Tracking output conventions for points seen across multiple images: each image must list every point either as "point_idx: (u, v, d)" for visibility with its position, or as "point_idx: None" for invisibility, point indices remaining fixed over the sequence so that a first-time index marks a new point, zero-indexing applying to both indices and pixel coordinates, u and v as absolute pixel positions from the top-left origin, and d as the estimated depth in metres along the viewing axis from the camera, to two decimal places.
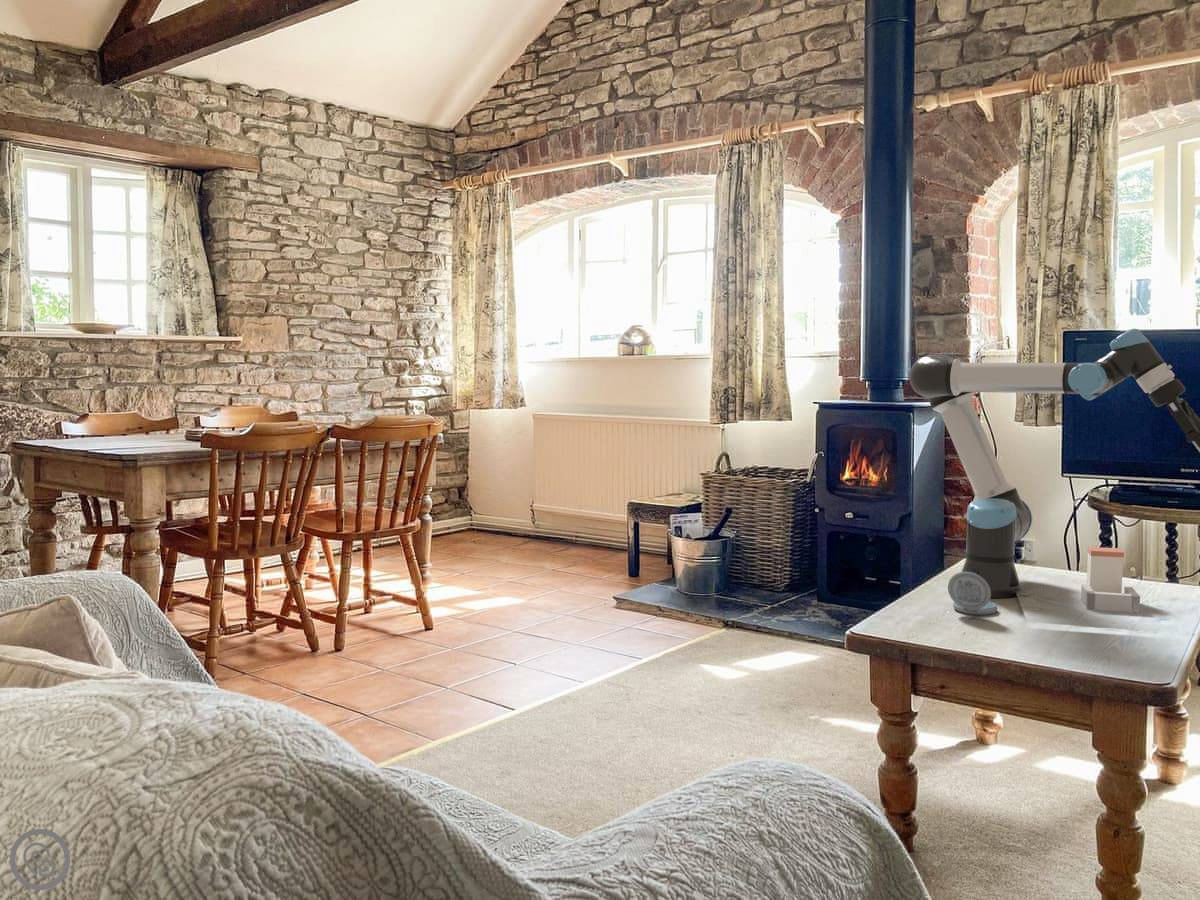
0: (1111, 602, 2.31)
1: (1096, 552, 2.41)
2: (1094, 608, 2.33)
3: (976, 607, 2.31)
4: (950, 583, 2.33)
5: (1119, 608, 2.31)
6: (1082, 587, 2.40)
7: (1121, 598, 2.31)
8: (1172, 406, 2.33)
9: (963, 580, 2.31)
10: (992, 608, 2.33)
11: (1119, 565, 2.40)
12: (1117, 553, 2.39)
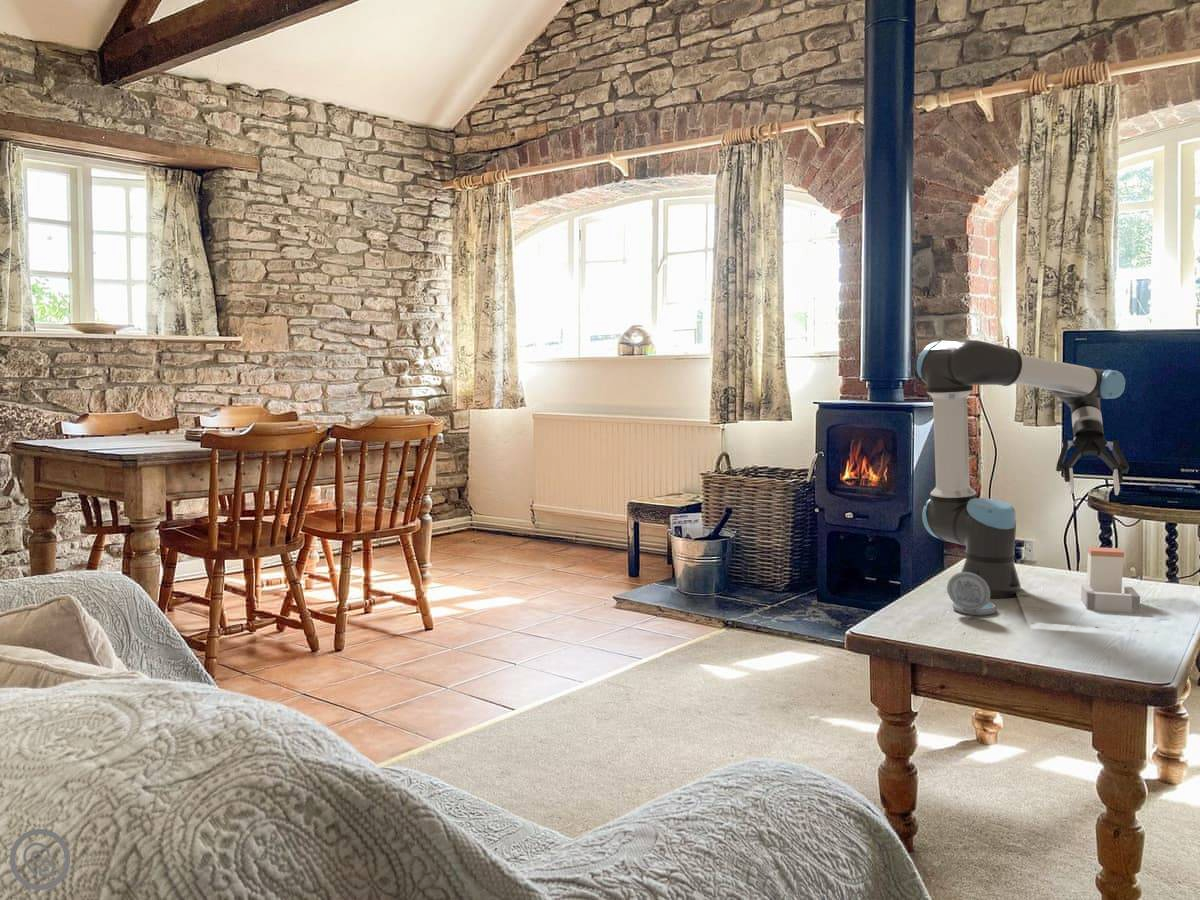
0: (1111, 602, 2.31)
1: (1096, 552, 2.41)
2: (1094, 608, 2.33)
3: (976, 607, 2.31)
4: (949, 583, 2.33)
5: (1119, 608, 2.31)
6: (1082, 587, 2.40)
7: (1121, 598, 2.31)
8: None
9: (963, 580, 2.30)
10: (992, 608, 2.33)
11: (1119, 565, 2.40)
12: (1117, 553, 2.39)
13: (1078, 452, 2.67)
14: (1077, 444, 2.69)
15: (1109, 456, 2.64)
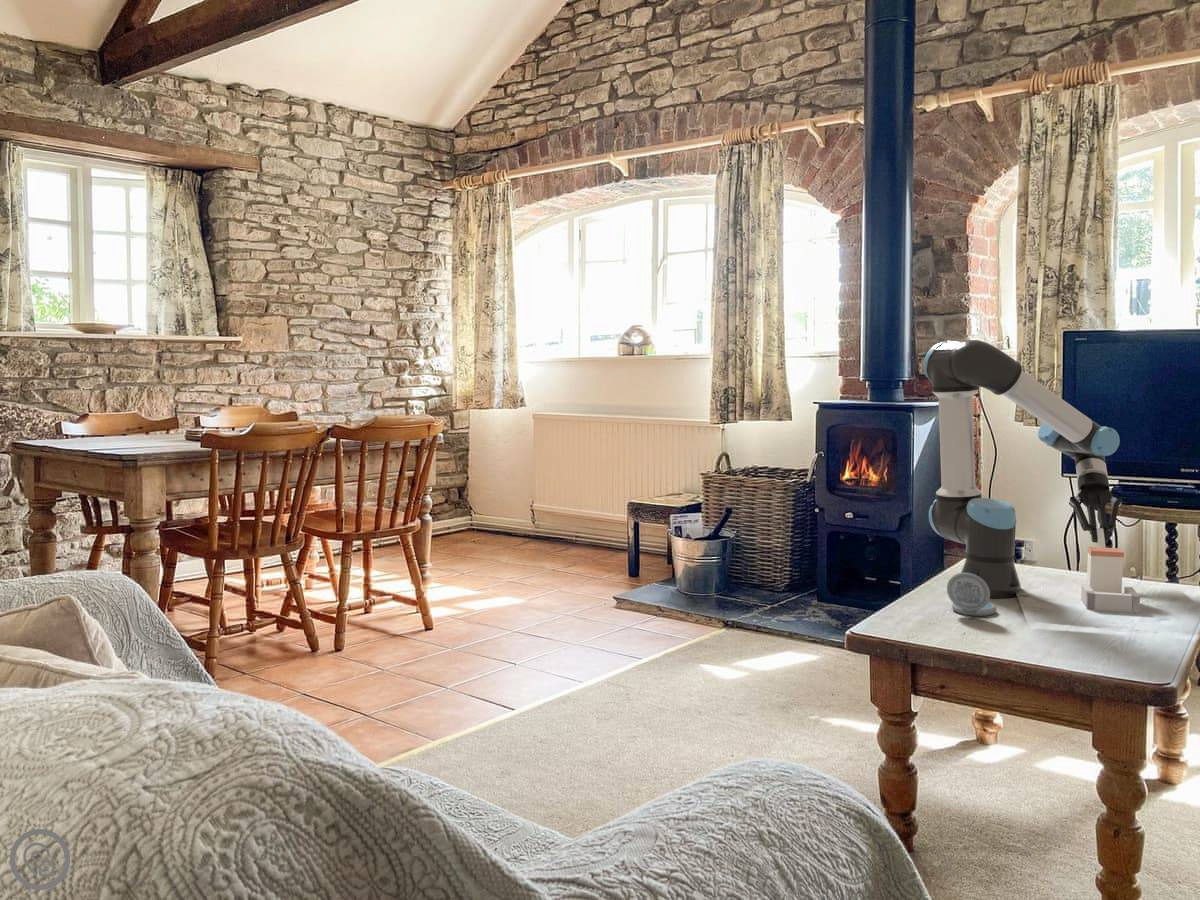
0: (1111, 602, 2.31)
1: (1096, 552, 2.41)
2: (1094, 608, 2.33)
3: (975, 608, 2.30)
4: (949, 584, 2.32)
5: (1119, 608, 2.31)
6: (1082, 587, 2.40)
7: (1121, 598, 2.31)
8: (1120, 504, 2.62)
9: (962, 581, 2.30)
10: (991, 609, 2.32)
11: (1119, 565, 2.40)
12: (1117, 553, 2.39)
13: (1093, 508, 2.62)
14: (1085, 497, 2.64)
15: (1103, 513, 2.60)
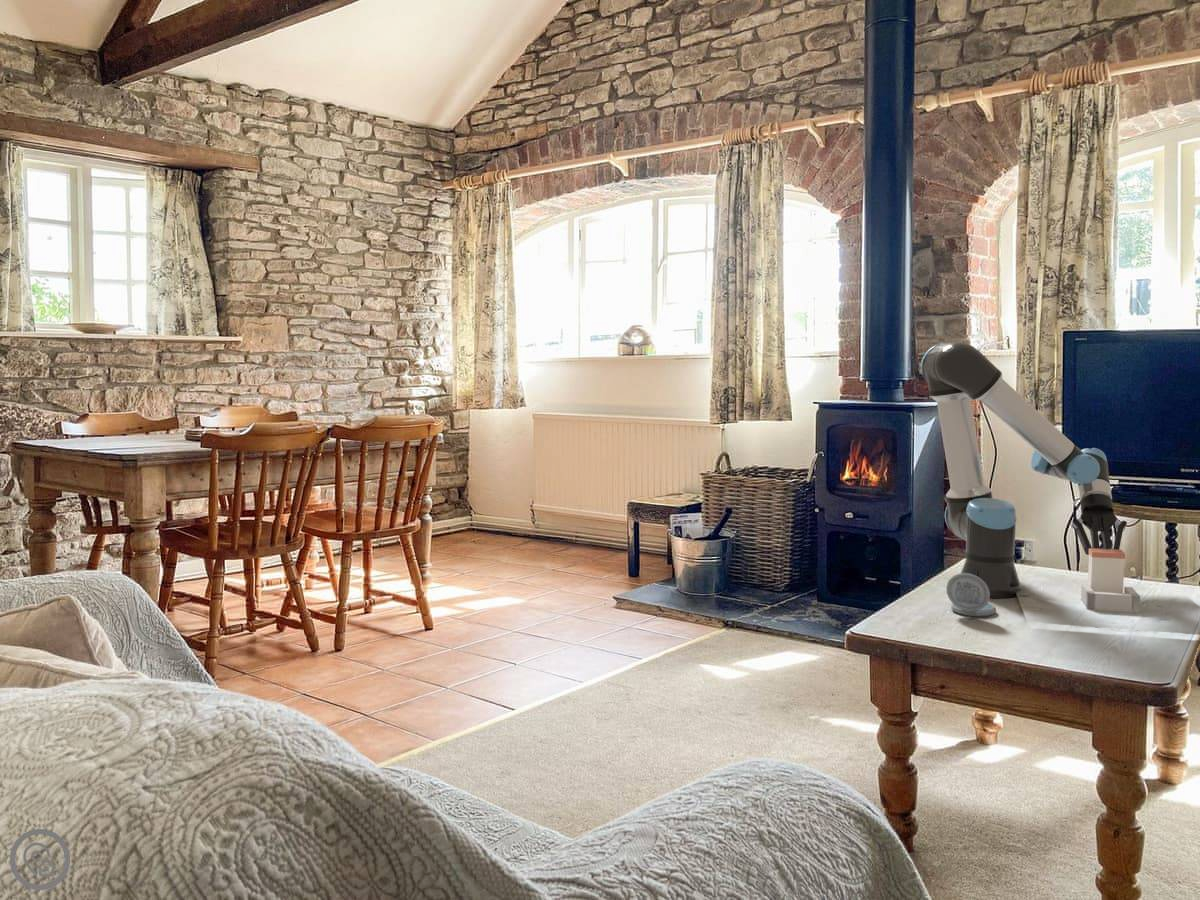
0: (1111, 602, 2.31)
1: (1097, 553, 2.39)
2: (1094, 608, 2.33)
3: (975, 609, 2.30)
4: (949, 585, 2.32)
5: (1119, 608, 2.31)
6: (1082, 587, 2.40)
7: (1121, 598, 2.31)
8: (1125, 527, 2.53)
9: (962, 581, 2.29)
10: (991, 609, 2.32)
11: (1121, 566, 2.38)
12: (1118, 554, 2.38)
13: (1096, 531, 2.52)
14: (1088, 519, 2.55)
15: (1107, 536, 2.51)
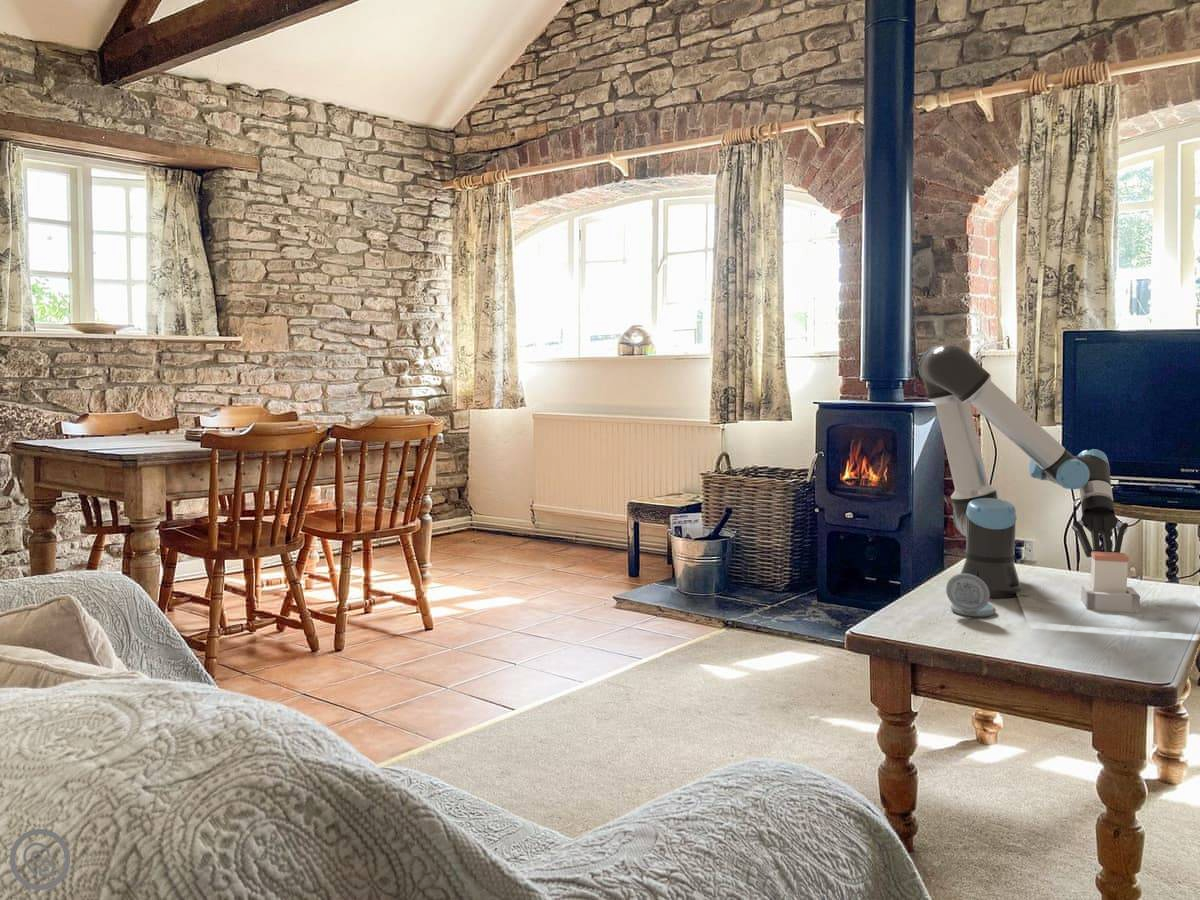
0: (1111, 602, 2.31)
1: (1100, 557, 2.35)
2: (1094, 608, 2.33)
3: (975, 609, 2.30)
4: (948, 585, 2.31)
5: (1119, 608, 2.31)
6: (1082, 587, 2.40)
7: (1121, 598, 2.31)
8: (1126, 529, 2.49)
9: (962, 582, 2.29)
10: (990, 610, 2.32)
11: (1124, 570, 2.34)
12: (1122, 558, 2.34)
13: (1097, 533, 2.49)
14: (1089, 522, 2.51)
15: (1108, 539, 2.47)
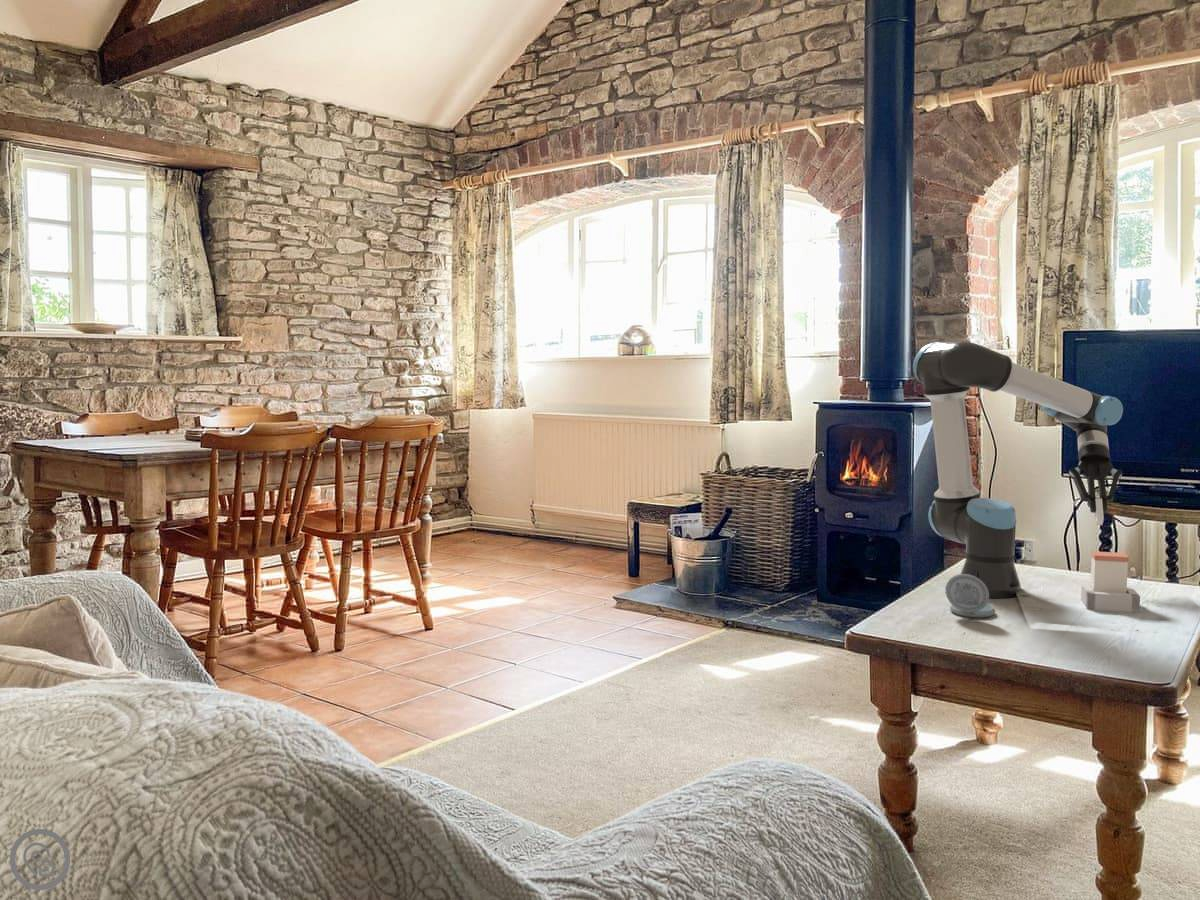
0: (1111, 602, 2.31)
1: (1100, 557, 2.35)
2: (1094, 608, 2.33)
3: (974, 610, 2.29)
4: (948, 586, 2.31)
5: (1119, 608, 2.31)
6: (1082, 587, 2.40)
7: (1121, 598, 2.31)
8: (1121, 475, 2.61)
9: (961, 582, 2.28)
10: (990, 610, 2.31)
11: (1124, 570, 2.34)
12: (1122, 558, 2.34)
13: (1092, 479, 2.61)
14: (1085, 468, 2.64)
15: (1103, 484, 2.60)
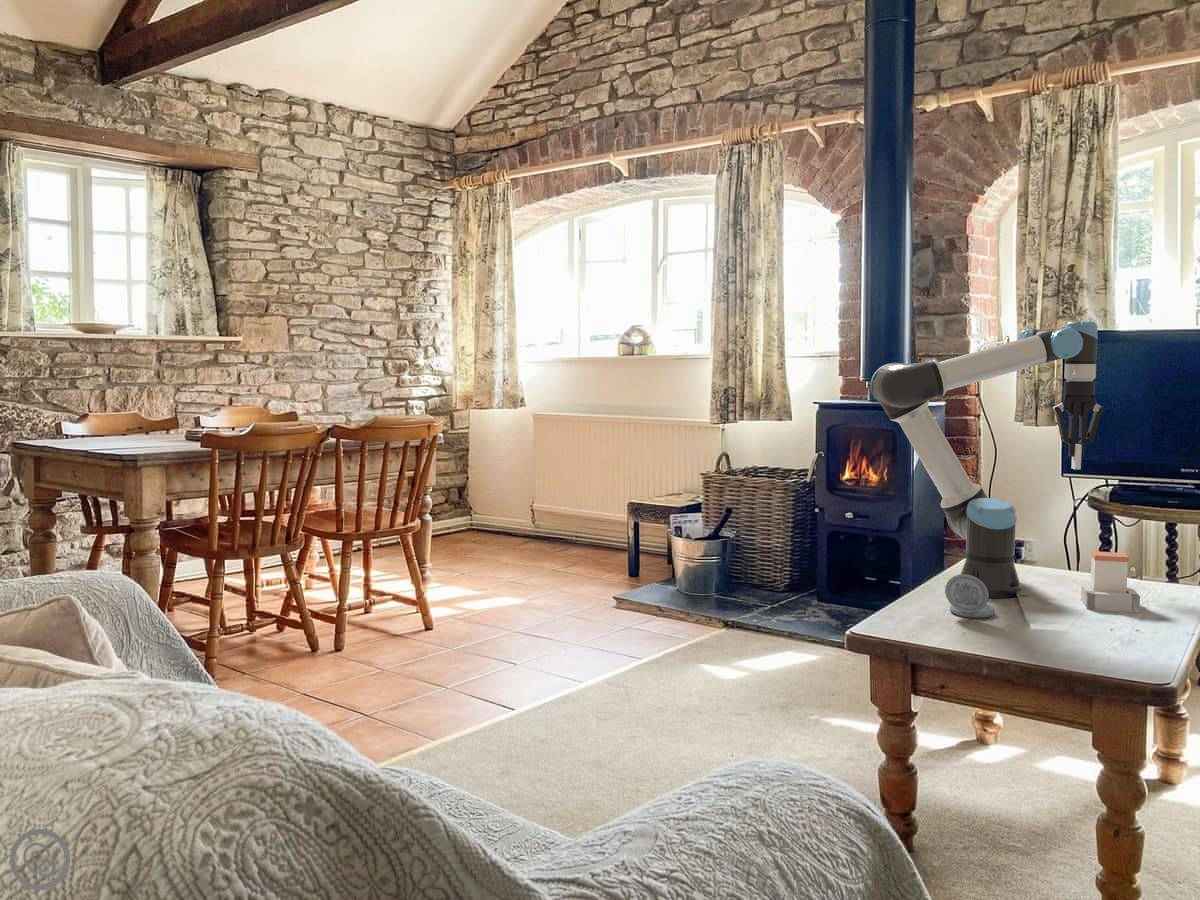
0: (1111, 602, 2.31)
1: (1100, 557, 2.35)
2: (1094, 608, 2.33)
3: (974, 610, 2.29)
4: (947, 586, 2.30)
5: (1119, 608, 2.31)
6: (1082, 587, 2.40)
7: (1121, 598, 2.31)
8: None
9: (961, 583, 2.28)
10: (989, 611, 2.31)
11: (1124, 570, 2.34)
12: (1122, 558, 2.34)
13: (1075, 420, 2.62)
14: (1069, 406, 2.62)
15: (1085, 426, 2.62)
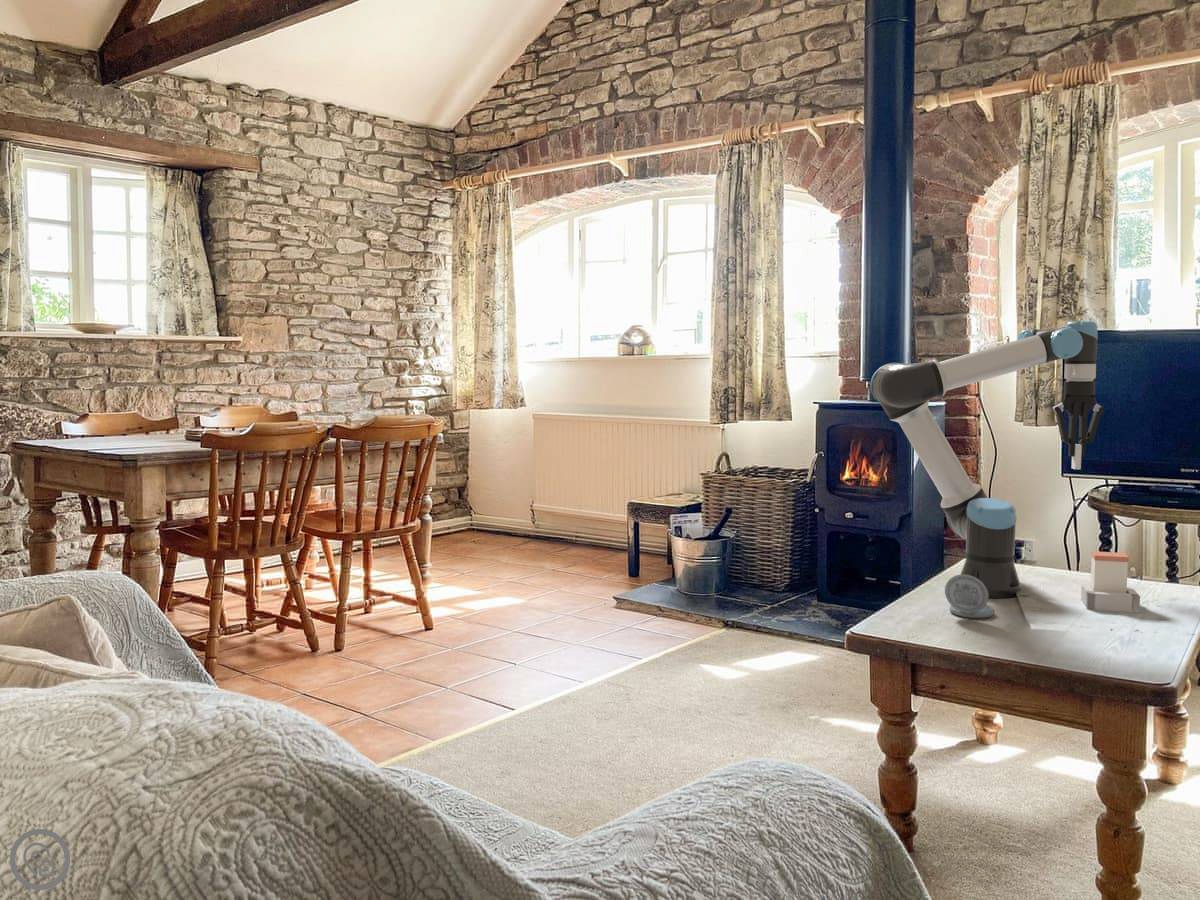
0: (1111, 602, 2.31)
1: (1100, 557, 2.35)
2: (1094, 608, 2.33)
3: (973, 610, 2.28)
4: (947, 586, 2.30)
5: (1119, 608, 2.31)
6: (1082, 587, 2.40)
7: (1121, 598, 2.31)
8: None
9: (961, 583, 2.28)
10: (989, 611, 2.31)
11: (1124, 570, 2.34)
12: (1122, 558, 2.34)
13: (1075, 420, 2.62)
14: (1069, 406, 2.62)
15: (1085, 426, 2.62)
